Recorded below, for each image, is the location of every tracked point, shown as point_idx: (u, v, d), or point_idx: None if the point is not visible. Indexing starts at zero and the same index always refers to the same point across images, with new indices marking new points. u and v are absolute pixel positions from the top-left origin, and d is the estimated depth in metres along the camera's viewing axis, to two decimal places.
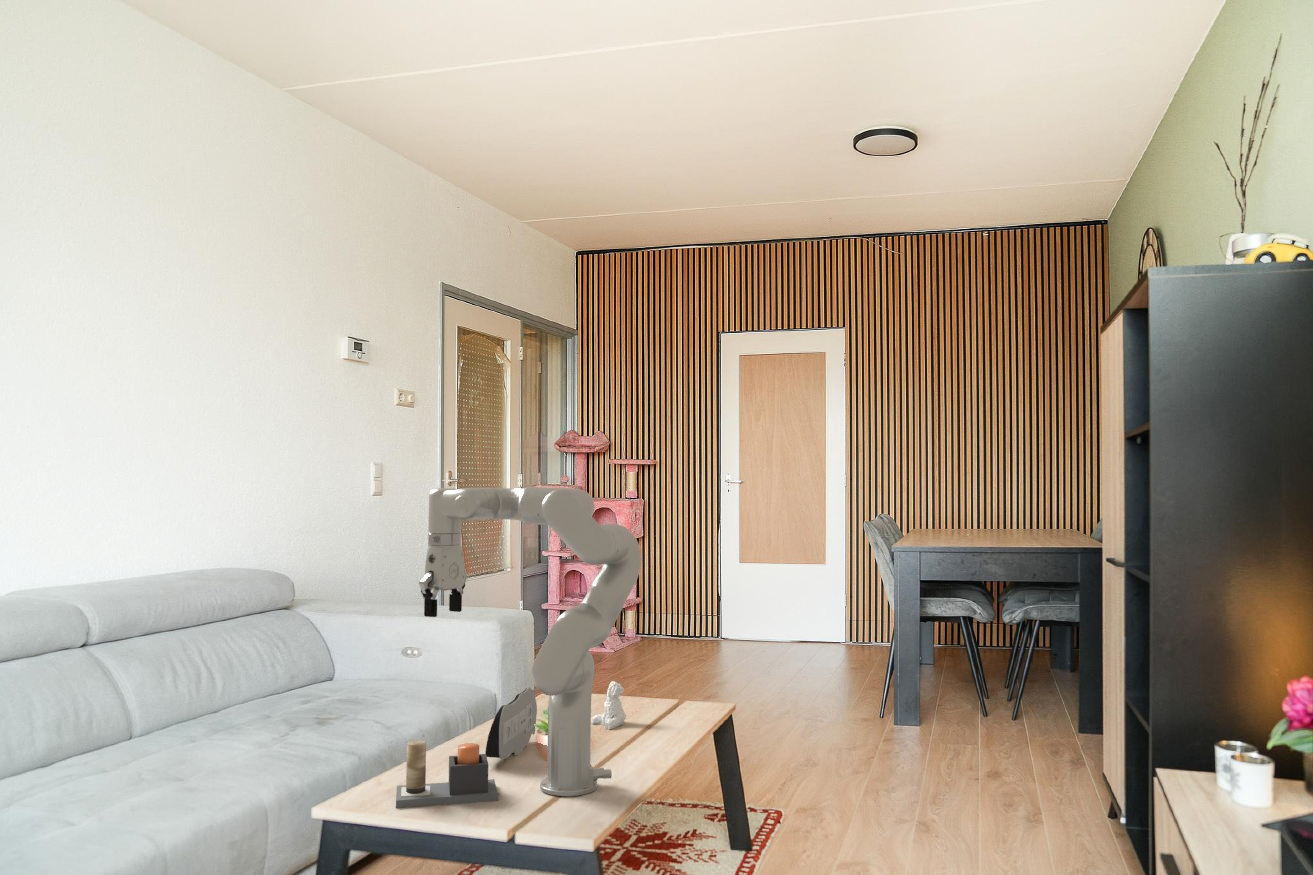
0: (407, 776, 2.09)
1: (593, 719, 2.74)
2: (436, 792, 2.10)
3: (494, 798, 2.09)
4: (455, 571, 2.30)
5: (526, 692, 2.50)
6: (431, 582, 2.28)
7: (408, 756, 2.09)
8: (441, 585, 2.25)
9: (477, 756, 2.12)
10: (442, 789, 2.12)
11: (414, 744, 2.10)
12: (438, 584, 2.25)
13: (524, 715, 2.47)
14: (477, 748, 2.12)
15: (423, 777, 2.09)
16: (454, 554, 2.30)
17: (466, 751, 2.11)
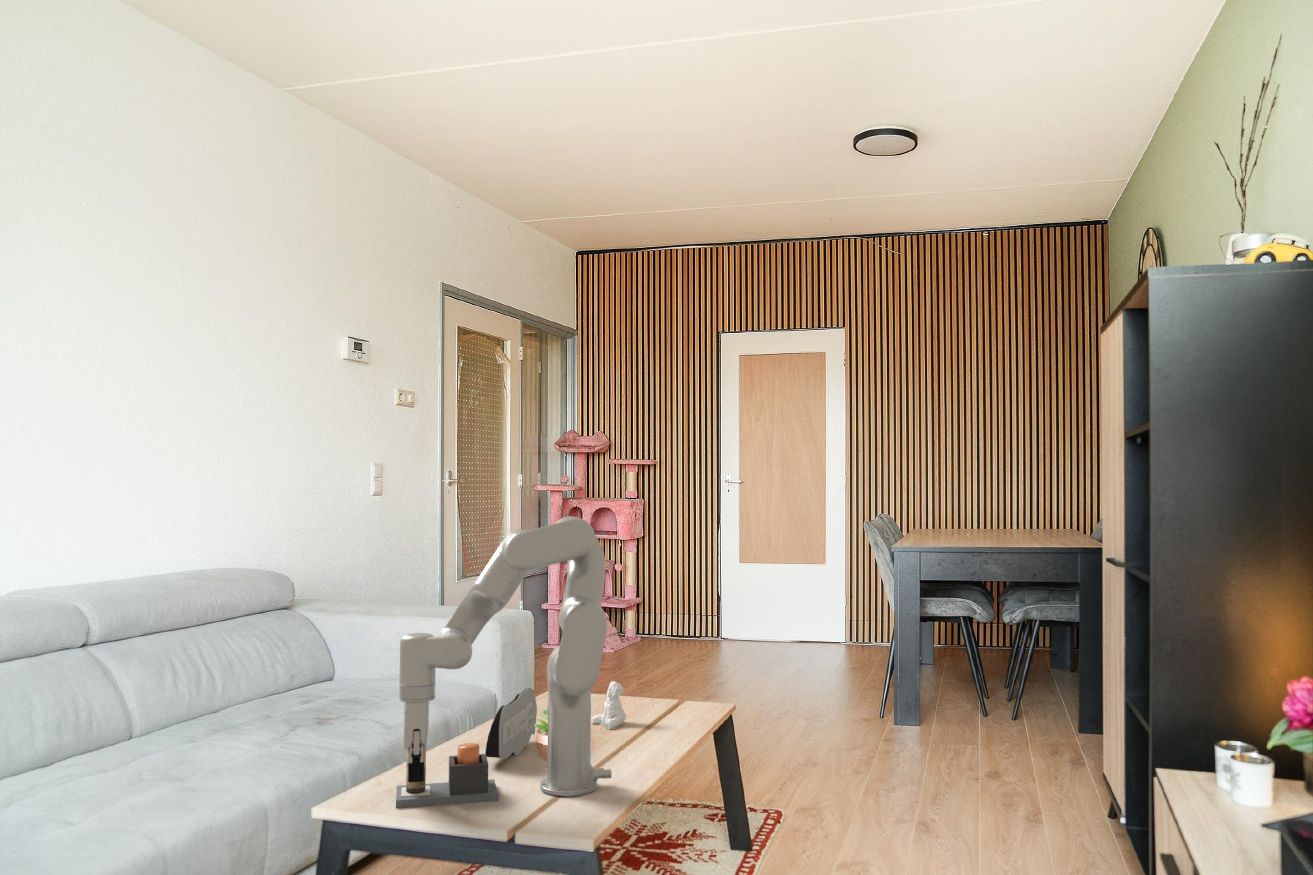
0: (407, 776, 2.09)
1: (593, 719, 2.74)
2: (436, 792, 2.10)
3: (494, 798, 2.09)
4: None
5: (526, 692, 2.50)
6: None
7: (408, 756, 2.09)
8: None
9: (477, 756, 2.12)
10: (442, 789, 2.12)
11: None
12: None
13: (524, 715, 2.47)
14: (477, 748, 2.12)
15: None
16: None
17: (466, 751, 2.11)
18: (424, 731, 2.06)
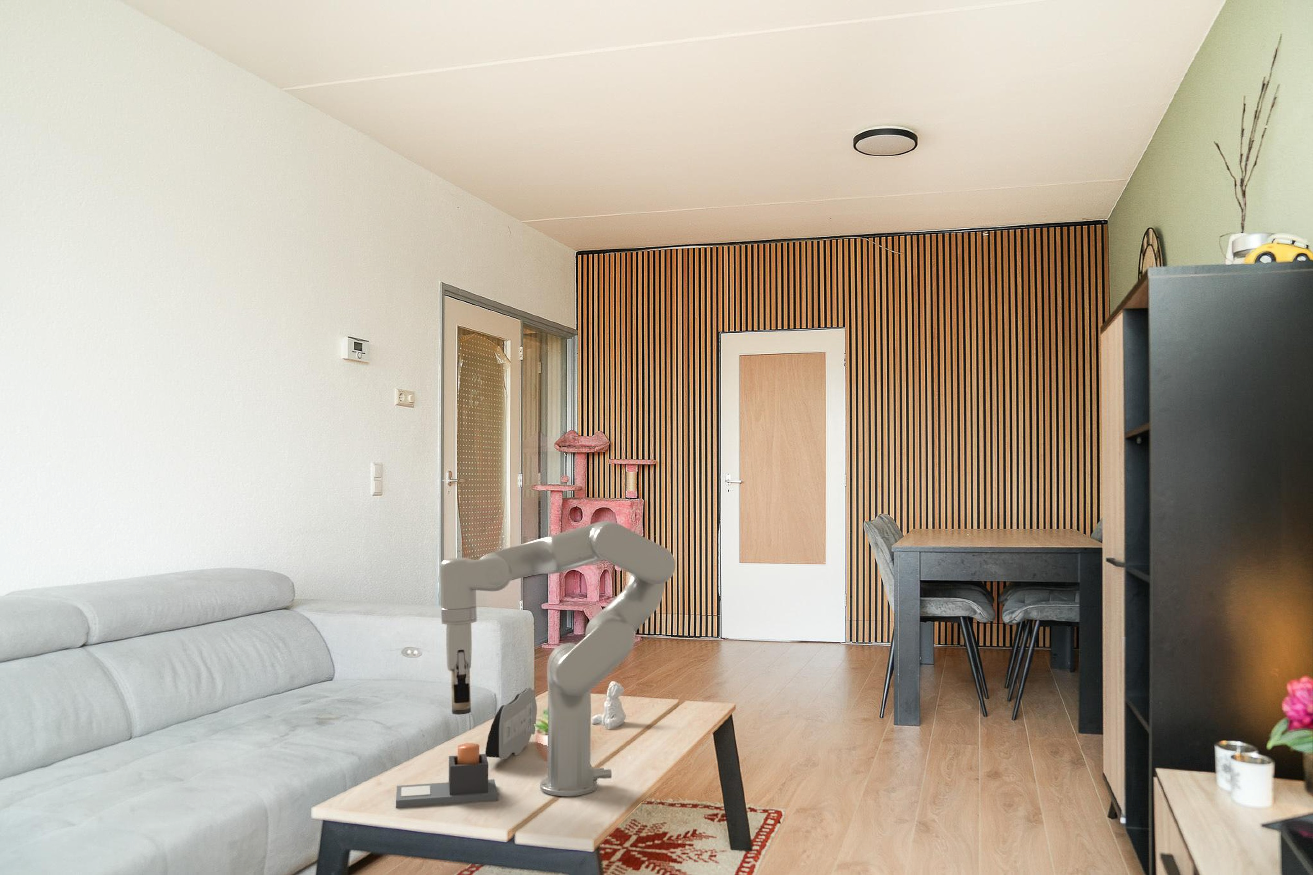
0: (452, 698, 2.12)
1: (593, 719, 2.74)
2: (436, 792, 2.10)
3: (494, 798, 2.09)
4: None
5: (526, 692, 2.50)
6: None
7: (453, 678, 2.12)
8: None
9: (477, 756, 2.12)
10: (442, 789, 2.12)
11: None
12: None
13: (524, 715, 2.47)
14: (477, 748, 2.12)
15: None
16: (446, 630, 2.13)
17: (466, 751, 2.11)
18: (468, 652, 2.09)
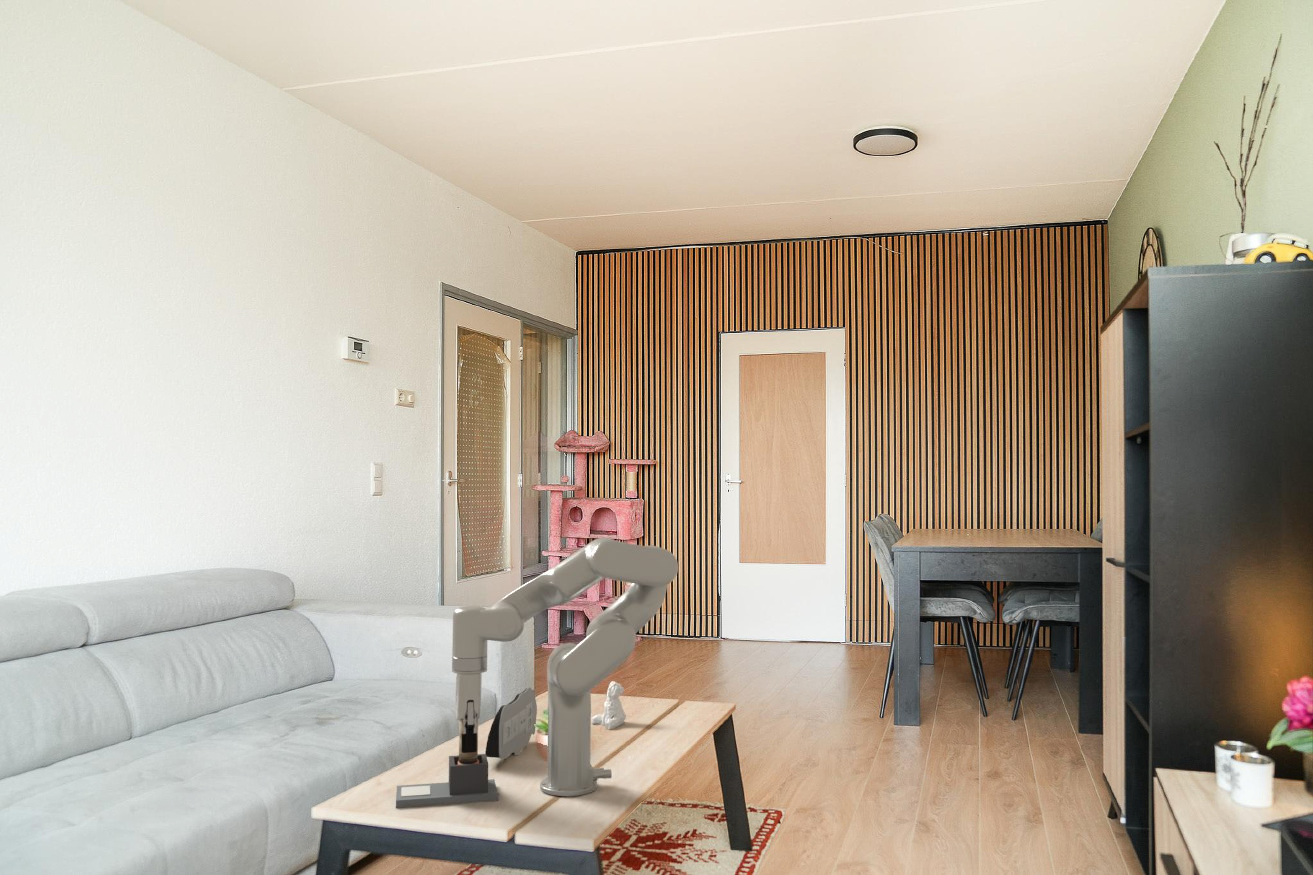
0: (460, 747, 2.12)
1: (593, 719, 2.74)
2: (436, 792, 2.10)
3: (494, 798, 2.09)
4: None
5: (526, 692, 2.50)
6: None
7: (461, 727, 2.12)
8: None
9: None
10: (442, 789, 2.12)
11: None
12: None
13: (524, 715, 2.47)
14: None
15: None
16: (456, 678, 2.13)
17: None
18: (478, 702, 2.09)
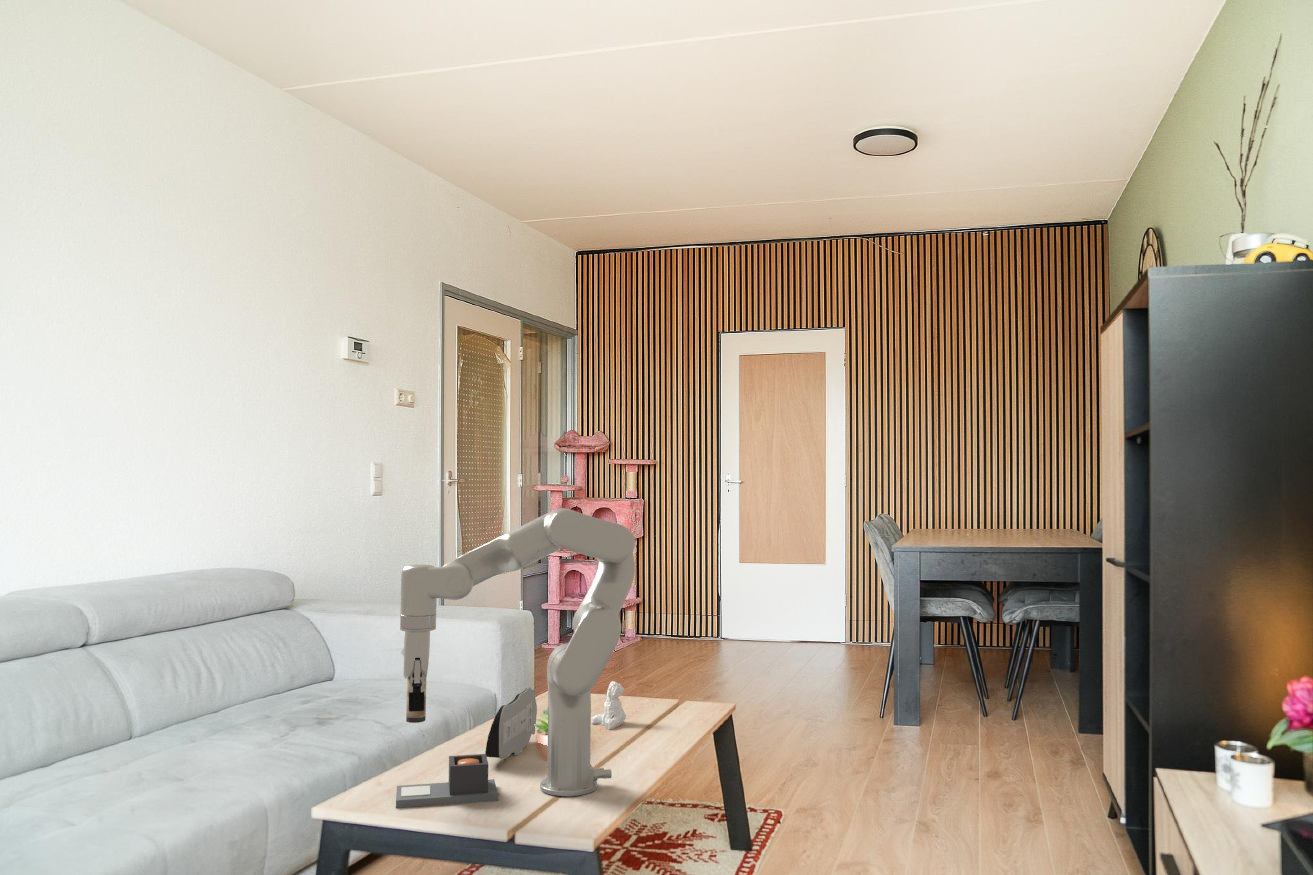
0: (407, 705, 2.09)
1: (593, 719, 2.74)
2: (436, 792, 2.10)
3: (494, 798, 2.09)
4: None
5: (526, 692, 2.50)
6: None
7: (408, 685, 2.09)
8: None
9: None
10: (442, 789, 2.12)
11: None
12: None
13: (524, 715, 2.47)
14: None
15: None
16: None
17: None
18: (425, 660, 2.07)
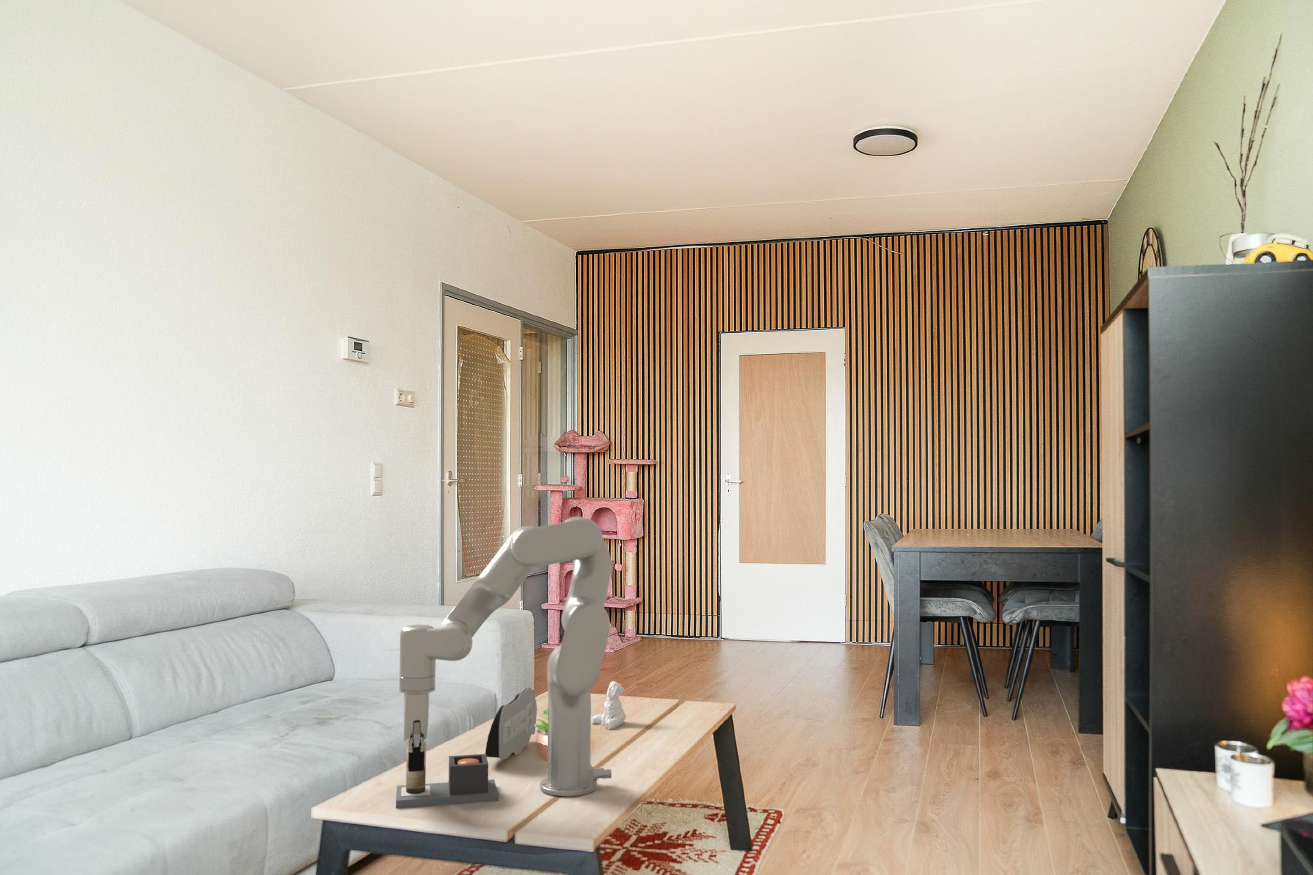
0: (407, 776, 2.09)
1: (593, 719, 2.74)
2: (436, 792, 2.10)
3: (494, 798, 2.09)
4: None
5: (526, 692, 2.50)
6: None
7: (408, 756, 2.09)
8: None
9: None
10: (442, 789, 2.12)
11: None
12: None
13: (524, 715, 2.47)
14: None
15: (423, 777, 2.09)
16: None
17: None
18: (424, 722, 2.06)
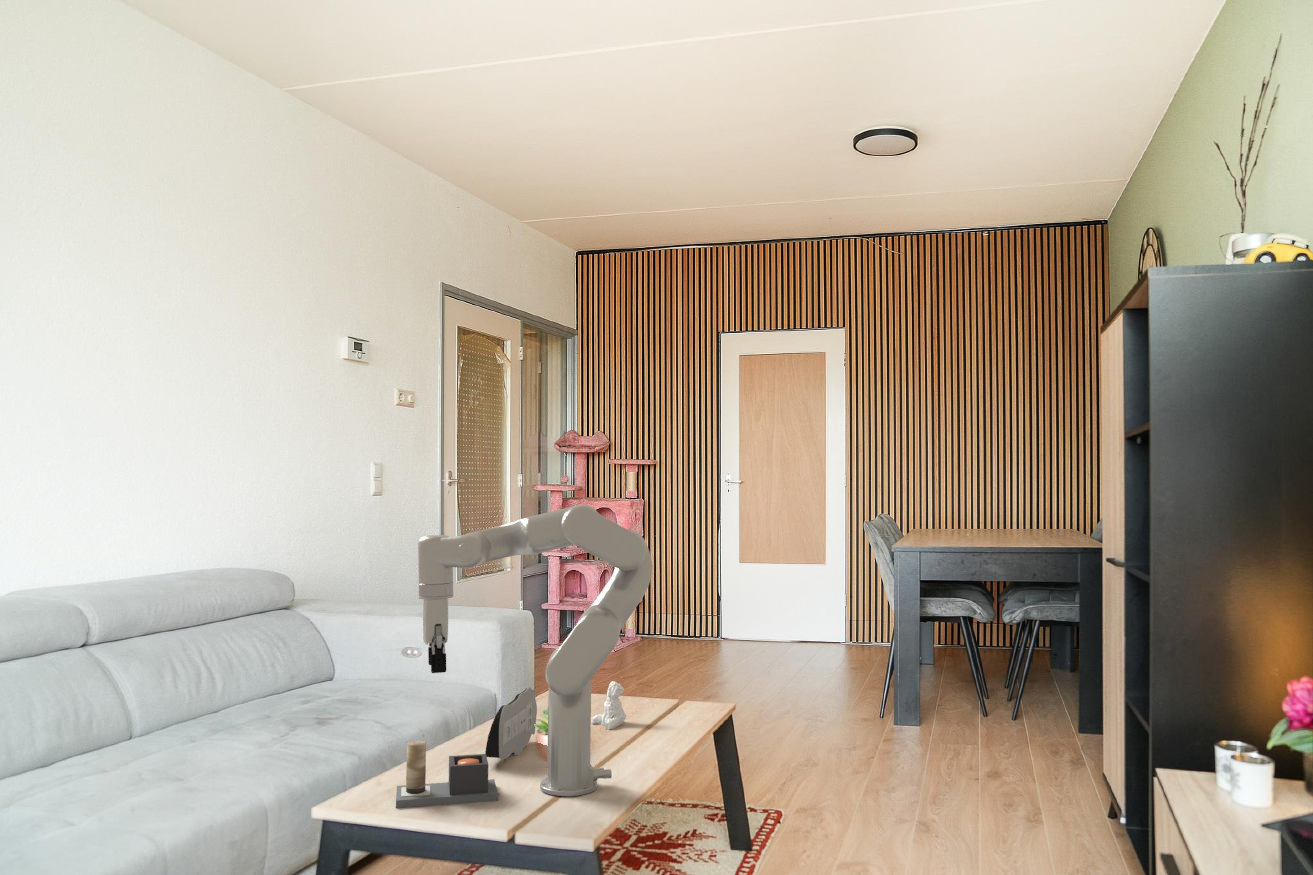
0: (407, 776, 2.09)
1: (593, 719, 2.74)
2: (436, 792, 2.10)
3: (494, 798, 2.09)
4: (424, 624, 2.17)
5: (526, 692, 2.50)
6: None
7: (408, 756, 2.09)
8: None
9: None
10: (442, 789, 2.12)
11: (414, 744, 2.09)
12: None
13: (524, 715, 2.47)
14: None
15: (423, 777, 2.09)
16: (423, 605, 2.18)
17: None
18: (445, 626, 2.14)
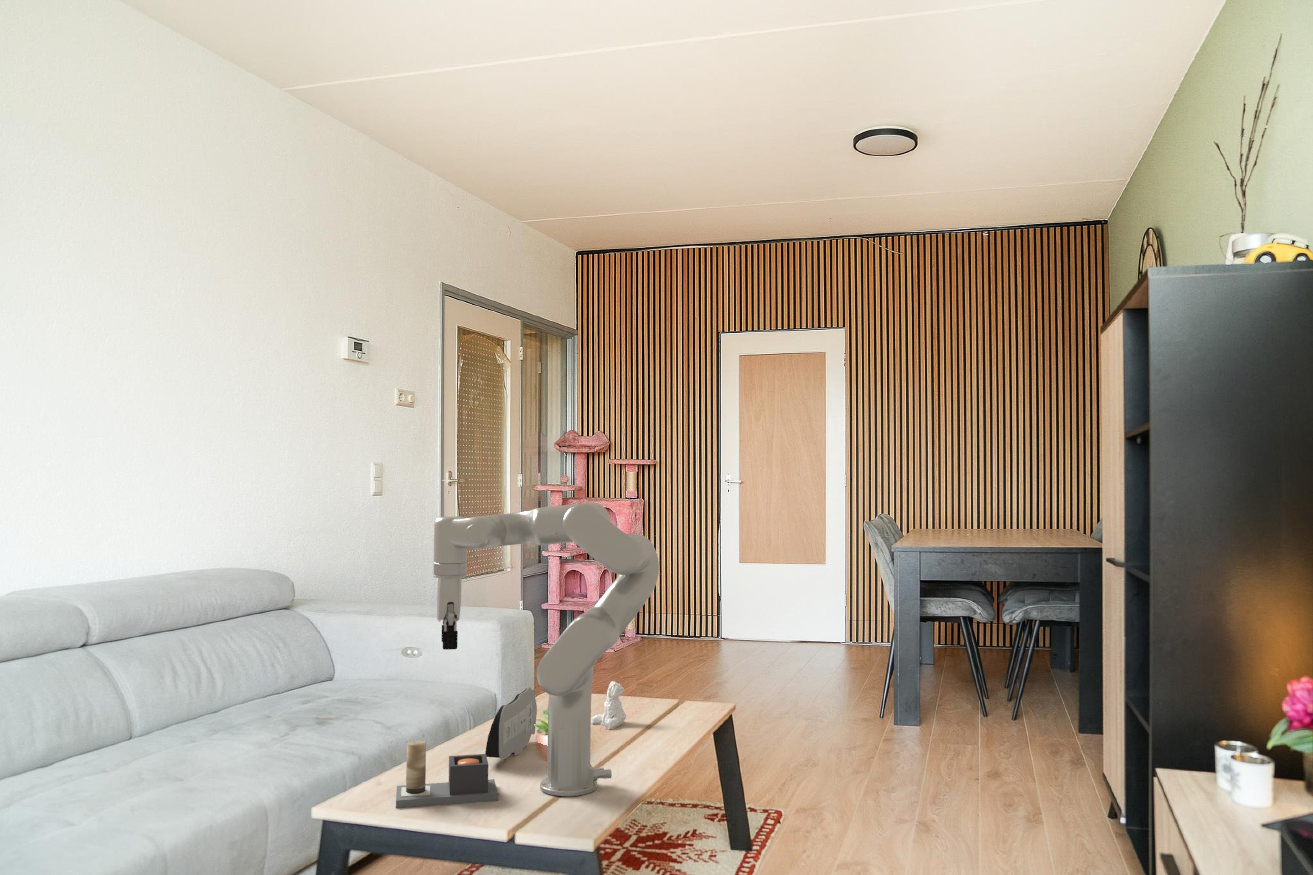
0: (407, 776, 2.09)
1: (593, 719, 2.74)
2: (436, 792, 2.10)
3: (494, 798, 2.09)
4: None
5: (526, 692, 2.50)
6: None
7: (408, 756, 2.09)
8: None
9: None
10: (442, 789, 2.12)
11: (414, 744, 2.09)
12: None
13: (524, 715, 2.47)
14: None
15: (423, 777, 2.09)
16: None
17: None
18: (457, 604, 2.20)
